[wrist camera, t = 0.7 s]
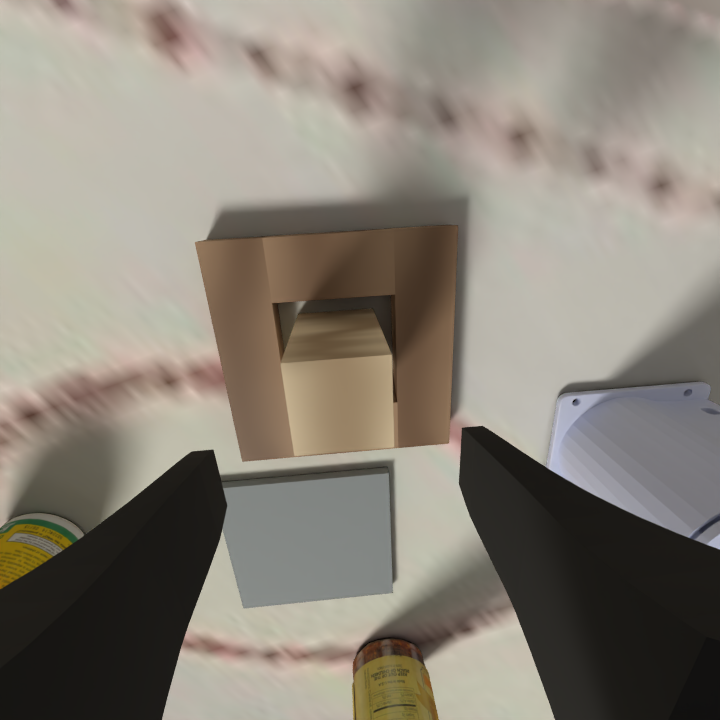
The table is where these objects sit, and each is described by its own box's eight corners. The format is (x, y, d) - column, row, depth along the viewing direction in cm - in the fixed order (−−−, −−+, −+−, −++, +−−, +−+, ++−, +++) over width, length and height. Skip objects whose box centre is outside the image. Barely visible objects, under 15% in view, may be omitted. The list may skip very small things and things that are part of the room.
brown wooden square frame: (448, 224, 18) (458, 225, 17) (442, 429, 23) (449, 443, 21) (205, 240, 18) (194, 242, 16) (247, 446, 22) (242, 461, 21)
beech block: (372, 308, 20) (391, 354, 13) (375, 375, 21) (394, 447, 15) (298, 313, 19) (280, 363, 13) (306, 381, 21) (294, 456, 14)
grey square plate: (387, 467, 24) (388, 473, 23) (391, 585, 28) (392, 592, 27) (215, 482, 23) (212, 489, 23) (245, 600, 27) (243, 608, 27)
